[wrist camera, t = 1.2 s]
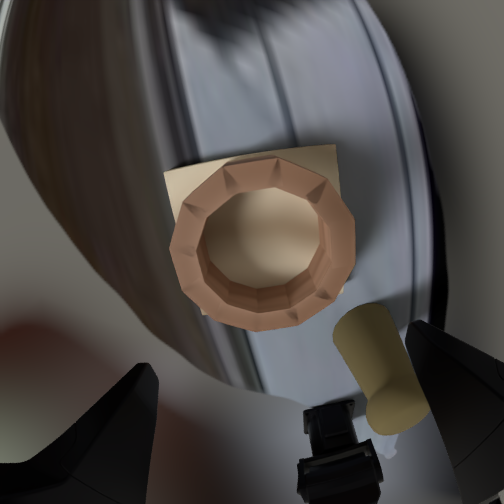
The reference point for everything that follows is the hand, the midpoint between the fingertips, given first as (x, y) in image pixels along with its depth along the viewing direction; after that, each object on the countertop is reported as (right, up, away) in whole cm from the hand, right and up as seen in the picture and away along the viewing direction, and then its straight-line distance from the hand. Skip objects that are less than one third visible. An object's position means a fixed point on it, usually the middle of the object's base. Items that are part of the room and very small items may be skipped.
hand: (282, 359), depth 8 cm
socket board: (0, +5, +11) cm, 12 cm away
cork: (+9, -4, +15) cm, 18 cm away
